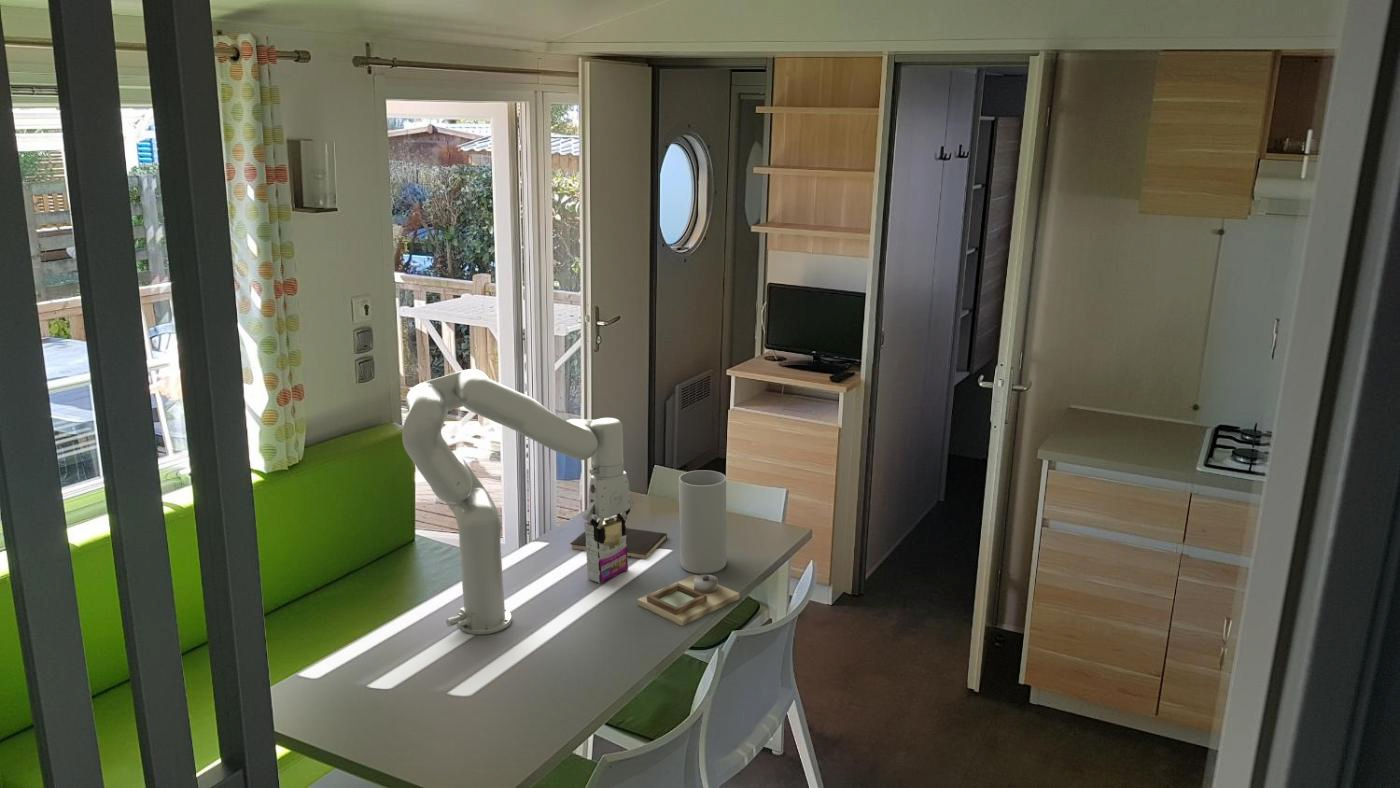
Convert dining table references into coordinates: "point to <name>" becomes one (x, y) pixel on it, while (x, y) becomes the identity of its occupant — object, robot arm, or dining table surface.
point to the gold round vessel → (612, 531)
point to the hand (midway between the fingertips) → (609, 537)
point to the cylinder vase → (702, 521)
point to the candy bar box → (604, 557)
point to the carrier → (689, 599)
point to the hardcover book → (632, 542)
